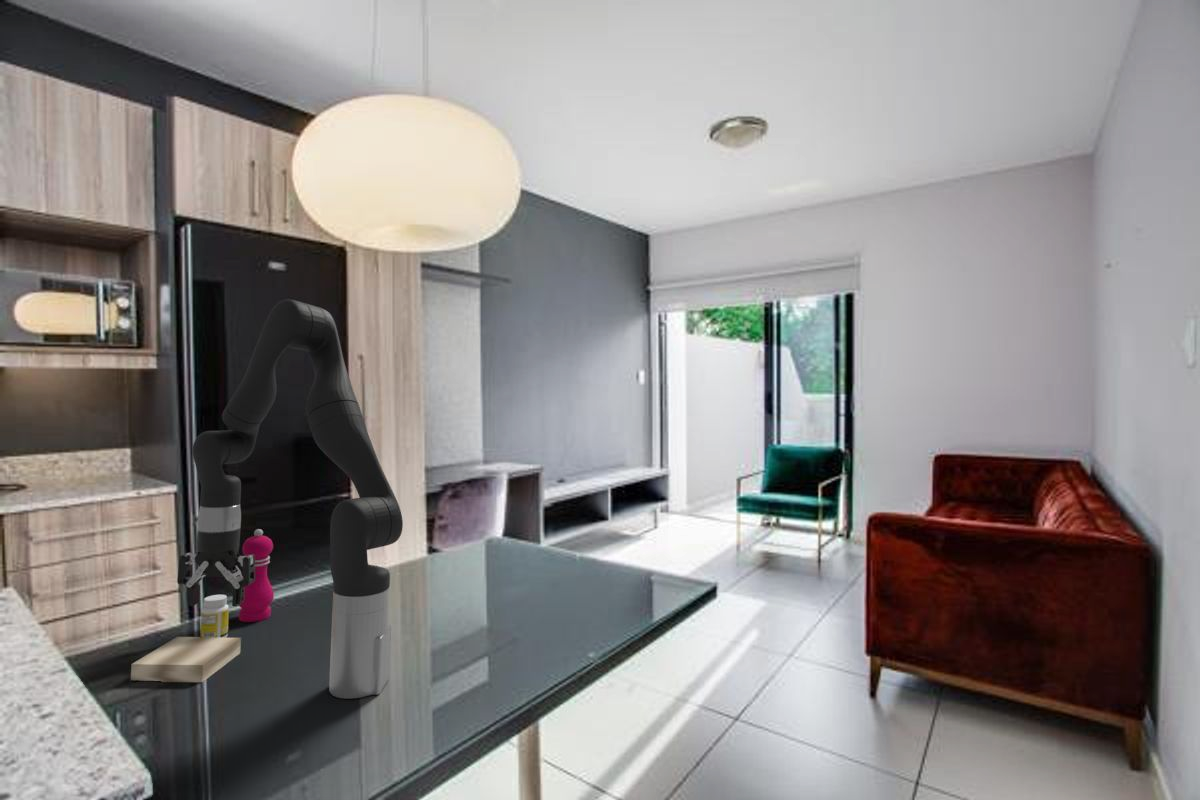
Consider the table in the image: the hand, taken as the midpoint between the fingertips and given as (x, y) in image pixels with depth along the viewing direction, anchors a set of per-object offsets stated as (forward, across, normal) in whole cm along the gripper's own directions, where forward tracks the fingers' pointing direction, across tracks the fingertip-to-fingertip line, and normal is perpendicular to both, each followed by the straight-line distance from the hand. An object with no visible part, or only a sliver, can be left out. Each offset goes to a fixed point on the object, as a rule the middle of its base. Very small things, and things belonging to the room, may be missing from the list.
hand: (215, 604), depth 121 cm
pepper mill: (+7, -2, -12) cm, 14 cm away
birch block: (+7, -3, +13) cm, 15 cm away
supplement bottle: (+7, 0, 0) cm, 7 cm away
